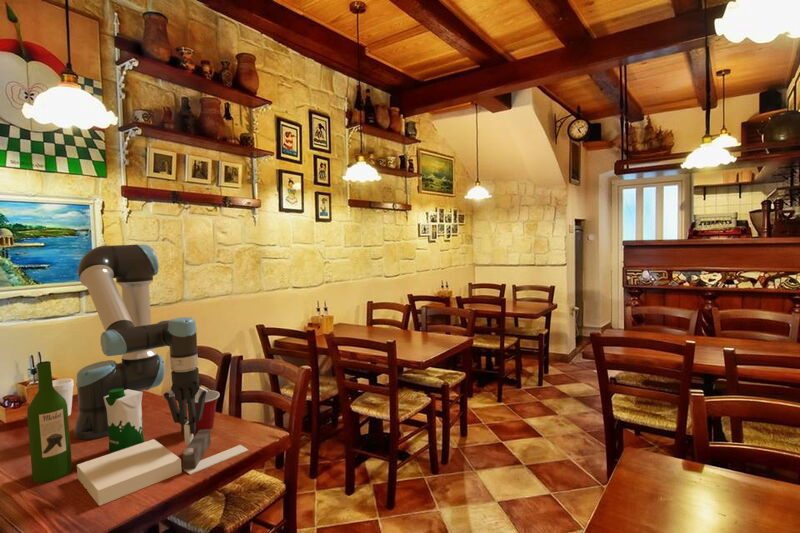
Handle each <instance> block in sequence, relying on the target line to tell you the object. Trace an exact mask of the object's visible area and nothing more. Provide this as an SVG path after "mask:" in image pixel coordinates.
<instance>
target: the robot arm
mask: <svg viewBox="0 0 800 533" xmlns="http://www.w3.org/2000/svg"><path fill="white" fill-rule="evenodd" d="M159 269H160V266H159V260H158V257H157V253H156V252H155V250H154V249H153V247H151V246H150V245H148V244H138V243H136V244H121V245H119V244H118V245H107V244H106V245H100V246H97V247H94V248H93V249H91V250H89V251H88V252H86V254H85V255H83V257H82V258H81V260H80V261H79V265H78V266H77V275H78V279H79V281H80V283H81V285H83V286H84V287H86V289H87V291H88V294H89V296H90V298H91V300H92V302H93V303H92V304H93V306H94V308H95V309H96V313H97V315H98V317H99V319H100V321H101V324H102V327H103V329H104V331H102V332H101V334H100V339H99V340H100V347H101V351H102V353H103V355H105V357H106V356H107V357H113V356H115V357H116V356H121V362H119V363H118V362H116V361H115V360H111V359H110V360H105V361H104V360H103V361H102V360H101V361H97V362H94V363H91V364H88V365H86V366H84V367H82V368H81V369H79V370H78V372H77V373H76V383H75V386H76V388H77V390H76V391H77V403H78V415H77V417H76V418H77V419H76V421H75V425H74V428H73V435H74V438H76V439H78V440H94V439H98V438H104V437H107V436H108V437H109V433H108V419H107V409H106V406H105V402H104V398H103V397H105V396H108V395H109V391H110V390H112V389H116V388H124V390H127V389H129V390H135V391H140V392H143V391H148V390H150V389H153V388H157V387H158V386H160V385H161V384H162V382H163V380H164V378H165V374H166V373H165V372H166V367H165V366H166V365H165V361H164V358H163V357H162V355H159V354H158V351H157V350H155V349H157V348H162V347H164V348H165V347H169V356H170V369H171V373H170V375H171V384H172V385H171V386H170V389H169V390H167V391H165V392H164V393H163V397H164V398H165V400H166V401H167V405H168V408H169V411H170V413H171V416H172V417H171V418H172V420H173V422H174V423H175V424H180V429H181V435H184V446H185V447H188V446H189V444H190V443H191V441H192V440H193V438H194V437H195V436H194V434H196V432H197V431H196V422H198V421H199V420H200V419H201V418H202V413H203V408H204V403H205V398H206V395H207V393H208V392H209V390H210V389H208V388H203V387H202V385H201V383H200V373H199V372H200V371H199V367H198V366H199V358H198V340H197V338H198V337H197V334H198V333H197V331H198V330H197V325H196V320H195V318H193V317H191V316H190V317H189V316H188V317H186V316H183V317H177V318H176V317H175V318H172V319H170V320H169V319H168V320H160V321H158V322H157V323H152V317H151V316H152V315H151V302H150V299H151V298H150V284H152V283H153V281H154V277H155V276H156V275H158V273H159ZM114 279H115V281H114ZM115 282H116V283H115ZM116 284H117V285H118V286H120V287H121V293H122V294H120V291H119V289H118V288H117V285H116ZM198 391H199V396H200V397H199V400H198V405H197V410H196V411H195V395H196V394H197V392H198ZM176 398H177V400H176Z"/></svg>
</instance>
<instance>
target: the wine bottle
mask: <svg viewBox="0 0 800 533" xmlns="http://www.w3.org/2000/svg"><path fill="white" fill-rule="evenodd" d="M36 366H37V383H38V391H37V393H36V394H35V396H34V397H33V399H32V401H31V402H30V403H29V405H28V408H27V412H26V416H27V417H26V418H27V427H28V428H27V429H28V438H29V440H28V442H29V452H30V465H31V476H32V480H33V482H35V483H38V484H42V483H44V484H45V483H47V482H48V483H49V482H53V481H56V480H60V479H61V477H62V478H64V477H66V476H67V475H68V474H70V473H71V472H72V469H73V462H72V450H71V437H70V424H69V423H70V422H69V416H68V409H67V403H66V400H65V399H64V398H63V397H62V396H61V395H60V394H59V393H58V392H57V391H56V390H55V389H54V388H53V382H52V381H53V376H52V364H51V361H50V360H48V361H47V360H45V361H40V362H37V363H36ZM65 475H66V476H65ZM63 476H64V477H63Z"/></svg>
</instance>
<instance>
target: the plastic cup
mask: <svg viewBox="0 0 800 533" xmlns="http://www.w3.org/2000/svg"><path fill="white" fill-rule="evenodd" d="M199 397H200V396H199V391H198V392H197V394H196V395H195V411H196V410H197V405H198V400H199ZM219 398H220V392H219V391H217V390H213V389H212V390H210V389H209V392H208V393H207V395H206V398H205V403H204V408H203V413H202V418H201V419H200V420H199V421H198V422H196V432H198V431H199V430H205V429H210V430H211V429H213V428H214V424H215V416H216V408H217V403H218V399H219Z"/></svg>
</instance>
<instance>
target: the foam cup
mask: <svg viewBox="0 0 800 533" xmlns="http://www.w3.org/2000/svg"><path fill="white" fill-rule="evenodd" d="M52 382H53V388H54V389H55V390H56V391H57V392H58V393H59V394H60V395H61V396H62V397H63V398H64V399H65V400H66V403H67V409H68V417H70V416H71V414H72V406H73V393H74V386H75V384H74V383H75V382H74V379H73V378H59V379H55V380H52Z"/></svg>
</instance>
